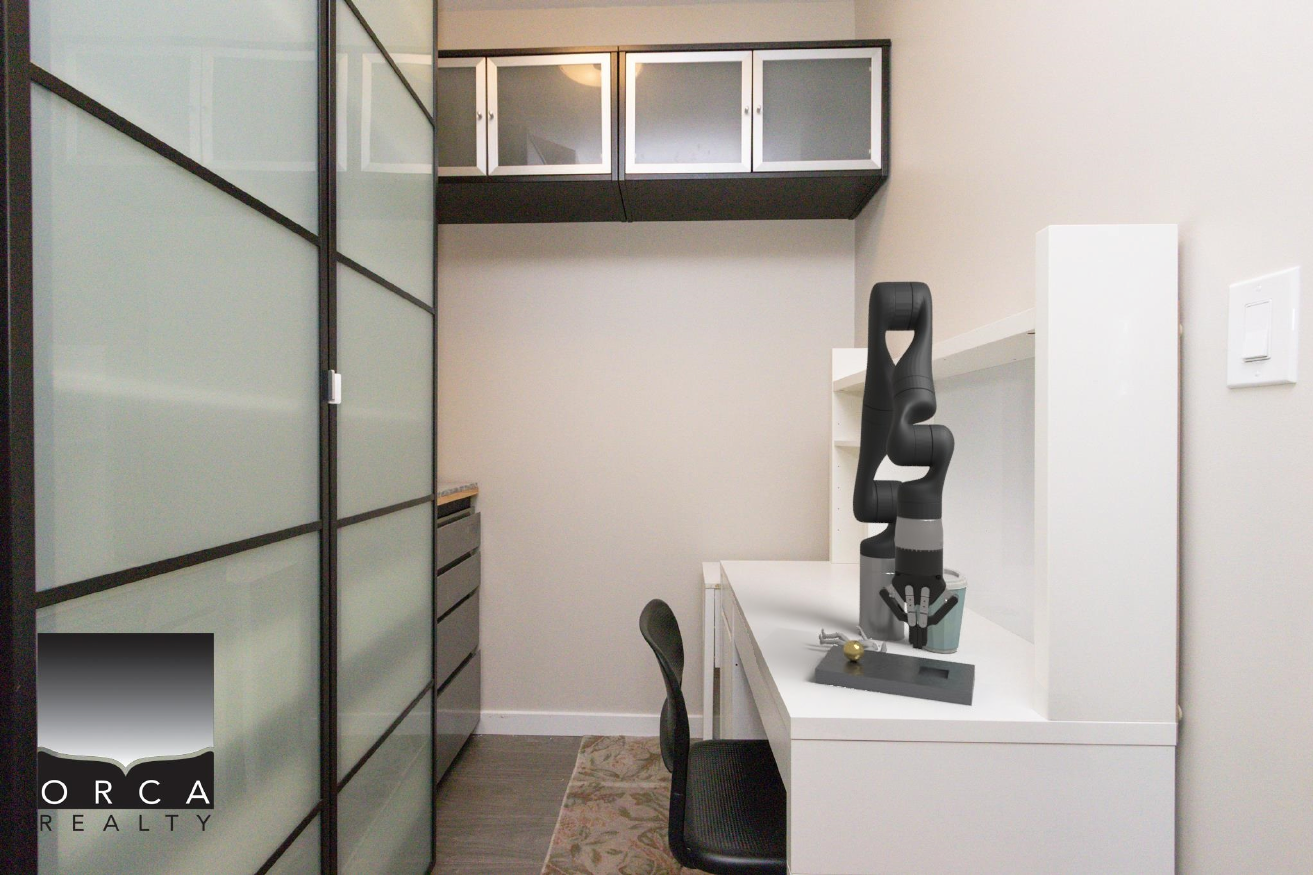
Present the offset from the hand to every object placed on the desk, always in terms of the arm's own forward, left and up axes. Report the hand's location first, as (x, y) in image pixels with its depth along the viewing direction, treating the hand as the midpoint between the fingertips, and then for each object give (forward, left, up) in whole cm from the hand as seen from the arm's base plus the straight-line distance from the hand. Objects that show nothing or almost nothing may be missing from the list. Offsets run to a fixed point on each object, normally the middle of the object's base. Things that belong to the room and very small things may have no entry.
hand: (917, 647), depth 118 cm
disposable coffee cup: (-22, +1, -6) cm, 23 cm away
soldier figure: (-12, -19, -5) cm, 23 cm away
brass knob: (0, -11, -2) cm, 11 cm away
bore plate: (0, -4, -6) cm, 7 cm away
